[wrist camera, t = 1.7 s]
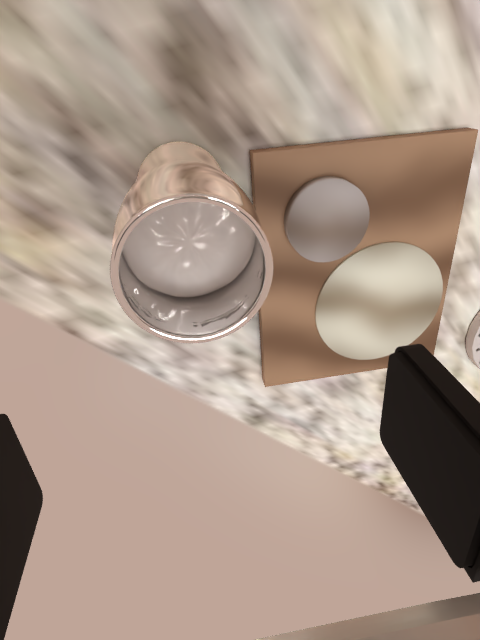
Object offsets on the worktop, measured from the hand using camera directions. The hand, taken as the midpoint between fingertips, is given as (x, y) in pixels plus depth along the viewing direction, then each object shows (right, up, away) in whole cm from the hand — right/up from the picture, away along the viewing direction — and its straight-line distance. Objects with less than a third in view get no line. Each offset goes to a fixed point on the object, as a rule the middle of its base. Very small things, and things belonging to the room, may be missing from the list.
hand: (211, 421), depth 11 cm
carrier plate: (+10, +7, +25) cm, 27 cm away
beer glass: (-3, +12, +20) cm, 23 cm away
